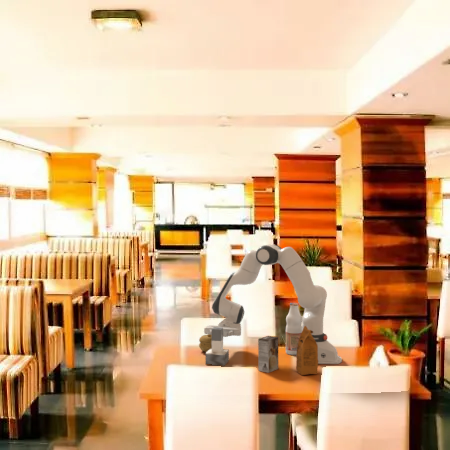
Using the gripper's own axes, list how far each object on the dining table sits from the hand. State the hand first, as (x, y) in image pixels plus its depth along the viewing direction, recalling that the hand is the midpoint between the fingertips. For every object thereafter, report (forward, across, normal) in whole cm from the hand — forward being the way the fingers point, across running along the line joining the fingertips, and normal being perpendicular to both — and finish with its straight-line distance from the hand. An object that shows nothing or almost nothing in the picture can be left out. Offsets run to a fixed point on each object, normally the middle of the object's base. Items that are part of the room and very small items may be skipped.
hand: (219, 333), depth 298 cm
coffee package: (+13, +47, +14) cm, 51 cm away
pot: (-16, -10, +14) cm, 24 cm away
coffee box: (+13, +28, +14) cm, 34 cm away
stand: (+6, 0, +14) cm, 15 cm away
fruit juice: (-23, +37, +14) cm, 46 cm away
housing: (+6, 0, +8) cm, 10 cm away
